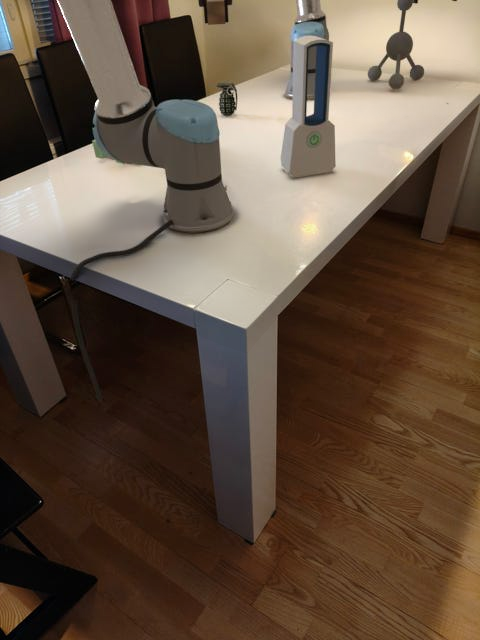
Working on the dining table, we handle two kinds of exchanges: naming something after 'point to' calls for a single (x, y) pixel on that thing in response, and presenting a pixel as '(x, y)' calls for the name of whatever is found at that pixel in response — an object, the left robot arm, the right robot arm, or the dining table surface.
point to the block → (215, 12)
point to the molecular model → (398, 53)
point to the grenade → (227, 99)
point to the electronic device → (315, 130)
